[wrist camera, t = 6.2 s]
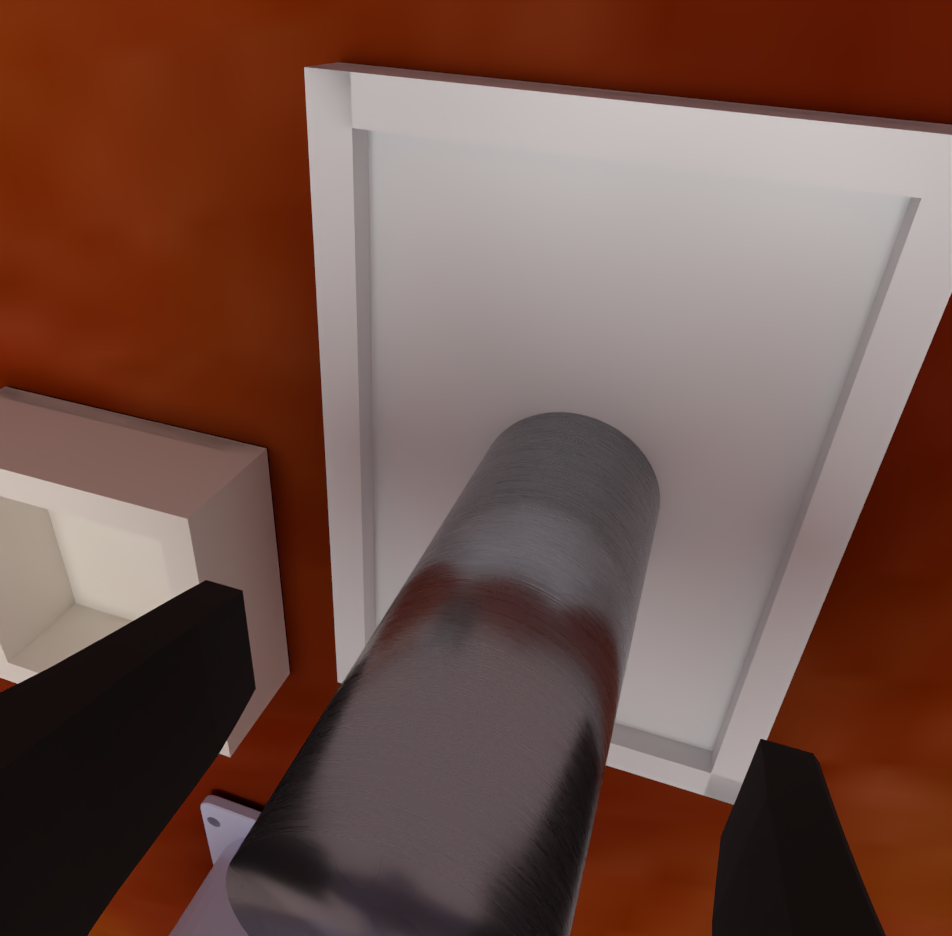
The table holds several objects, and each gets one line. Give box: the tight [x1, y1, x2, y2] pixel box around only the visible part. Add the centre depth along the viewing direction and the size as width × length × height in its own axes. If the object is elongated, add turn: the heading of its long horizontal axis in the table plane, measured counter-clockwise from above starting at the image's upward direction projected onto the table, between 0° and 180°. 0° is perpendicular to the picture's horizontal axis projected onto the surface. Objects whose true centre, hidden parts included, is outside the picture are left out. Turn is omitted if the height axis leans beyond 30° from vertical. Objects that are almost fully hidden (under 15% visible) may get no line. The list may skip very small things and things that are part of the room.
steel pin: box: [226, 412, 660, 936], centre depth 11 cm, size 4×4×9 cm
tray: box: [304, 62, 952, 805], centre depth 15 cm, size 14×10×1 cm
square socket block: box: [0, 387, 290, 757], centre depth 19 cm, size 8×8×3 cm
